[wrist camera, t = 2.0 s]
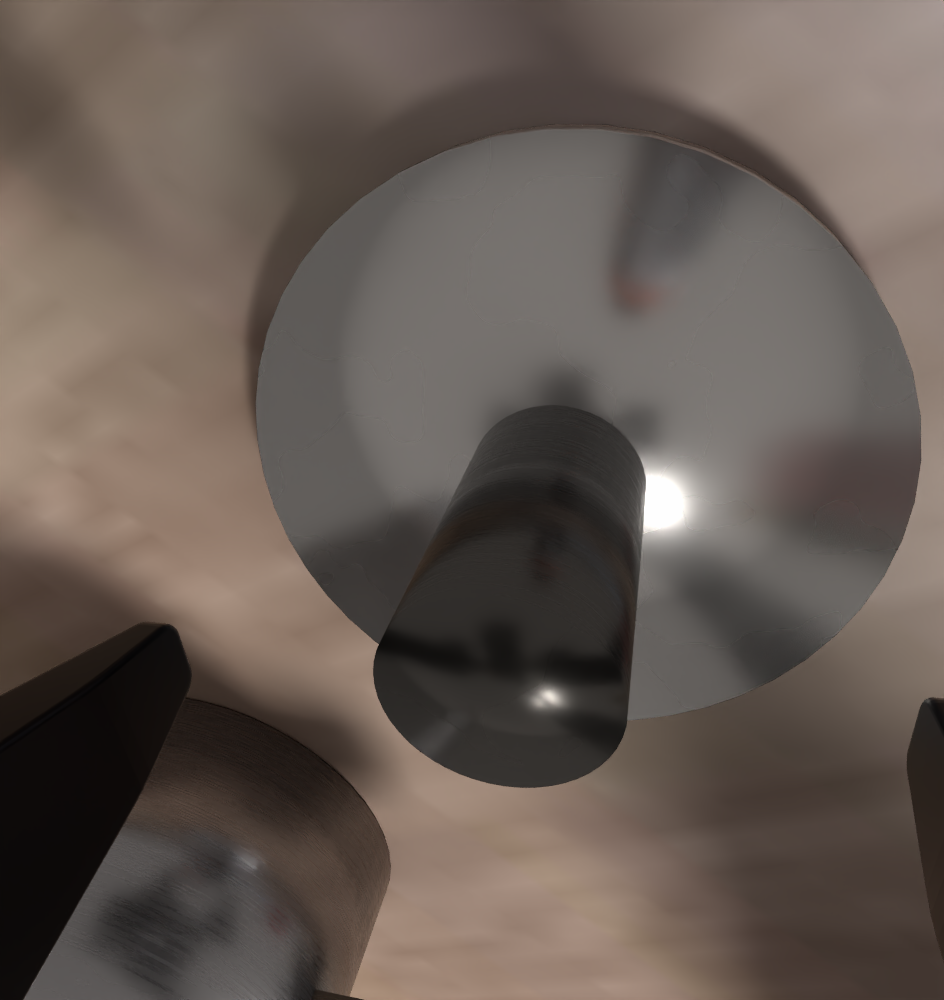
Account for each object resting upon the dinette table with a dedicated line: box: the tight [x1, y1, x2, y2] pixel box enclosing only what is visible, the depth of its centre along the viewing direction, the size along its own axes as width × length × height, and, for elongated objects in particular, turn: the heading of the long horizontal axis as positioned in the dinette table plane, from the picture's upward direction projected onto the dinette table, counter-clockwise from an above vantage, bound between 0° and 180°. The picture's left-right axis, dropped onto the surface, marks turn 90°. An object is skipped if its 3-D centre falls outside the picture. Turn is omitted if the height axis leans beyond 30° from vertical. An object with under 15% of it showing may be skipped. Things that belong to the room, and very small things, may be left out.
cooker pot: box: [24, 699, 391, 1000], centre depth 20 cm, size 16×10×6 cm, turn 95°
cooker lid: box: [256, 124, 921, 788], centre depth 11 cm, size 11×11×6 cm
